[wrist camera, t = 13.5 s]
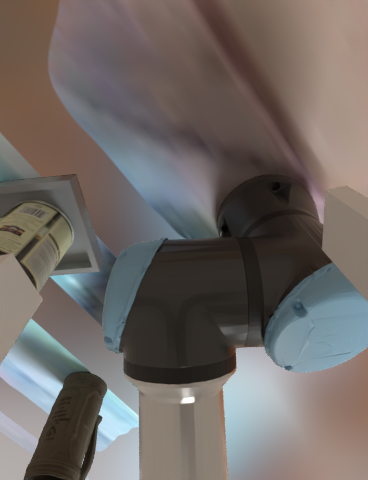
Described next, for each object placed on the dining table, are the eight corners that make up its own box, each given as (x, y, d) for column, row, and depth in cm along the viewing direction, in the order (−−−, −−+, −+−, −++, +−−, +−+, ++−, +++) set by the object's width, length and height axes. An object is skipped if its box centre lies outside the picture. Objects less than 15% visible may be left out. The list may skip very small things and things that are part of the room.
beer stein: (53, 378, 65) (7, 484, 48) (85, 364, 62) (48, 471, 45) (95, 405, 71) (68, 507, 54) (126, 394, 69) (107, 497, 51)
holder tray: (76, 174, 38) (68, 180, 36) (103, 261, 46) (99, 271, 44) (-29, 184, 39) (-42, 191, 36) (17, 269, 47) (8, 279, 45)
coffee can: (25, 258, 45) (-32, 322, 33) (-4, 203, 40) (-85, 255, 27) (83, 252, 44) (46, 315, 32) (62, 195, 39) (8, 245, 27)
